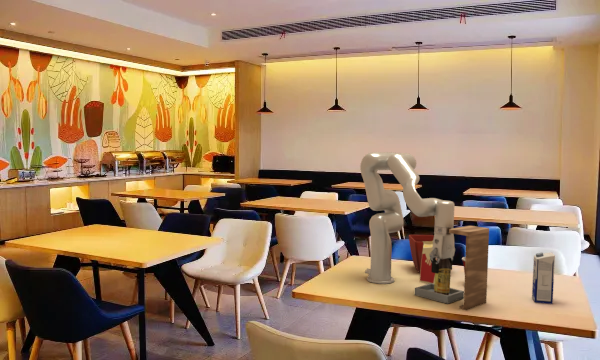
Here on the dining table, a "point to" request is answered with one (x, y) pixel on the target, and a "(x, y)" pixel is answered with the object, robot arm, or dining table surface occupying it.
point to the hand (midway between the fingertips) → (441, 271)
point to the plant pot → (418, 248)
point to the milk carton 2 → (543, 278)
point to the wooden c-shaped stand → (475, 265)
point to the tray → (438, 294)
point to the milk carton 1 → (427, 264)
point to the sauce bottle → (443, 277)
